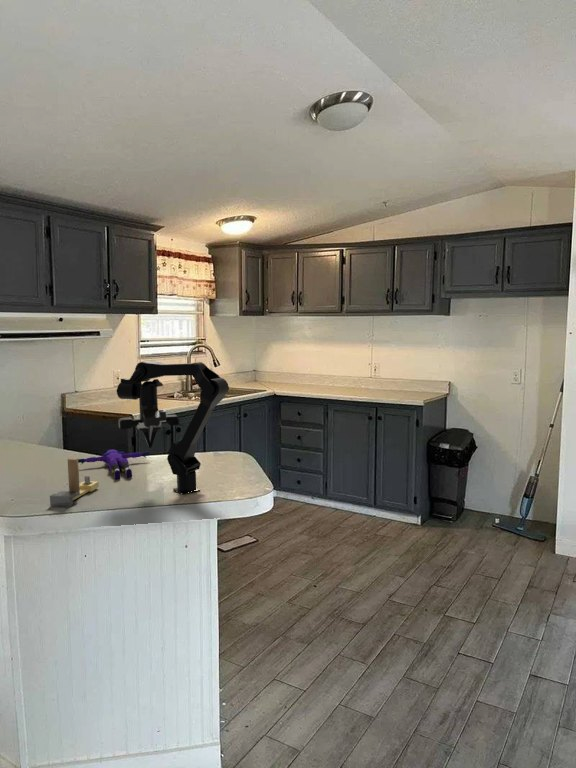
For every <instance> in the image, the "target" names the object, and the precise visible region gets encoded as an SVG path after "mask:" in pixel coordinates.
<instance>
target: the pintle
mask: <svg viewBox="0 0 576 768" xmlns="http://www.w3.org/2000/svg"><path fill="white" fill-rule="evenodd" d="M83 478H84V481H85V485H90V481H91V477H90V475H85V476H84V477H83ZM94 491H95V490H93V491H88V492H87V493H92V492H94Z"/></svg>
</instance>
